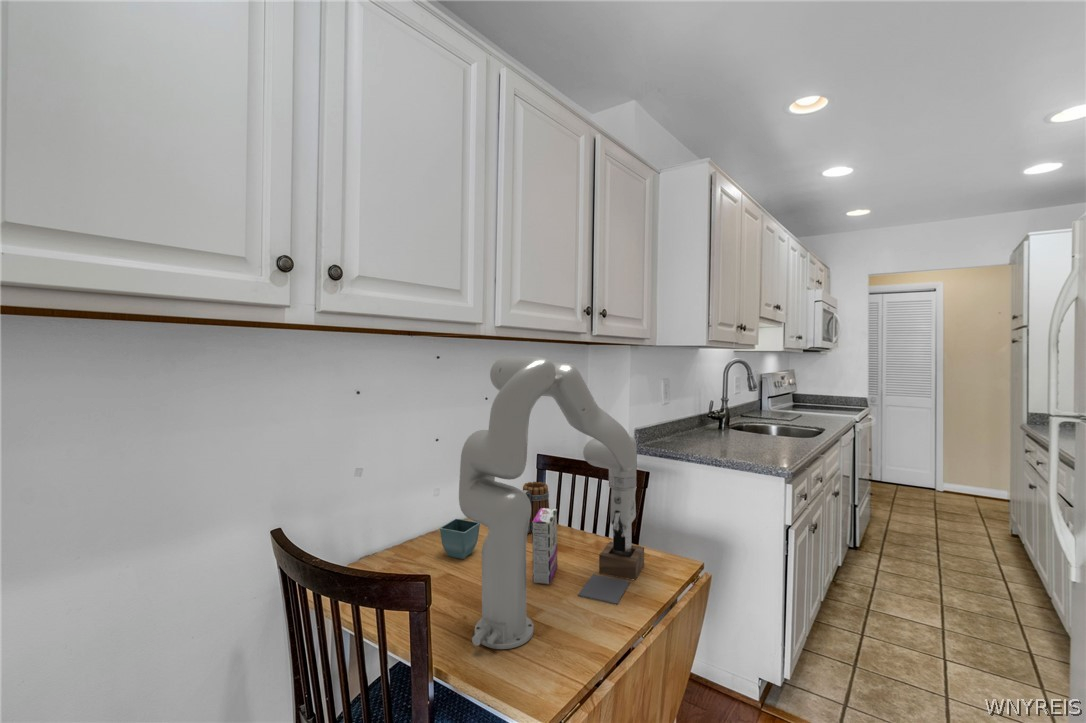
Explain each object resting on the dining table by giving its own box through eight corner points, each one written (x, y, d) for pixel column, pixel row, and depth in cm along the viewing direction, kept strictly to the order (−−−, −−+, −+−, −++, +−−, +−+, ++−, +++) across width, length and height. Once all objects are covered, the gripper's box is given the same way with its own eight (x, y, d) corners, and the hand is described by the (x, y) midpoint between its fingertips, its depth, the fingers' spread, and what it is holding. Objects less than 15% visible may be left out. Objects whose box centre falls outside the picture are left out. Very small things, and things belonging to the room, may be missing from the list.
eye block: (635, 580, 127) (635, 561, 127) (599, 573, 131) (599, 554, 131) (644, 565, 136) (644, 547, 136) (609, 558, 140) (609, 541, 140)
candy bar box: (540, 564, 136) (540, 507, 136) (557, 566, 135) (557, 508, 135) (531, 583, 125) (531, 521, 125) (550, 585, 124) (550, 522, 124)
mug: (528, 521, 171) (528, 479, 171) (555, 526, 167) (556, 482, 166) (506, 536, 157) (506, 490, 157) (535, 542, 153) (535, 494, 152)
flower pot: (464, 563, 137) (464, 532, 137) (439, 558, 140) (438, 527, 140) (480, 551, 145) (480, 522, 145) (455, 547, 149) (455, 518, 148)
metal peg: (628, 574, 130) (629, 523, 130) (610, 571, 132) (611, 520, 132) (633, 567, 135) (633, 517, 135) (615, 563, 137) (616, 514, 137)
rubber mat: (617, 604, 115) (617, 603, 115) (577, 596, 119) (577, 594, 119) (629, 582, 126) (629, 581, 126) (593, 575, 130) (593, 573, 130)
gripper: (627, 491, 124) (627, 561, 124) (643, 475, 139) (642, 537, 140) (599, 487, 127) (599, 556, 127) (617, 472, 142) (617, 533, 143)
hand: (622, 545), depth 134 cm, fingers open, 5 cm apart
